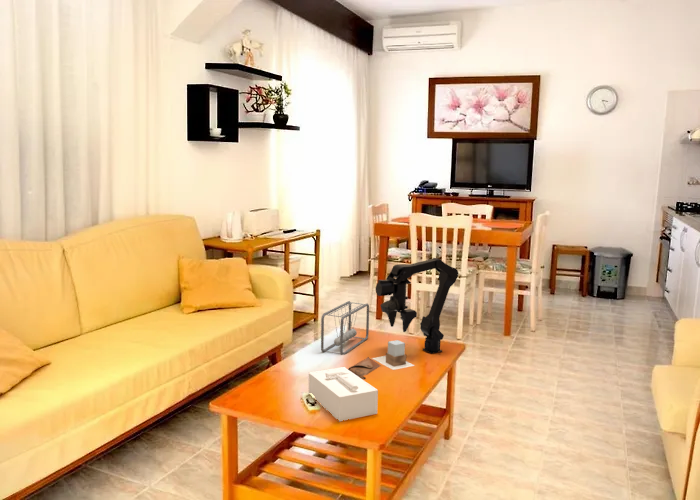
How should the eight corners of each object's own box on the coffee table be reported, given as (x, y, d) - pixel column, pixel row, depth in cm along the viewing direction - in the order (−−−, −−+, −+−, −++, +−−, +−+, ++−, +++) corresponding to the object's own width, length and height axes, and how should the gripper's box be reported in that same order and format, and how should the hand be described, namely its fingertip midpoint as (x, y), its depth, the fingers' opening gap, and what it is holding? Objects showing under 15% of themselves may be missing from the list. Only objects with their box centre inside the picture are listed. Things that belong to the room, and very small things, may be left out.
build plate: (392, 356, 264) (392, 354, 264) (414, 367, 251) (415, 365, 250) (371, 360, 258) (371, 358, 258) (393, 372, 245) (393, 369, 245)
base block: (397, 360, 257) (397, 350, 256) (405, 364, 252) (406, 355, 251) (385, 362, 254) (385, 353, 253) (393, 366, 249) (394, 357, 248)
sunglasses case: (364, 380, 236) (357, 364, 236) (351, 385, 239) (343, 370, 240) (384, 366, 251) (377, 351, 252) (371, 372, 255) (364, 357, 255)
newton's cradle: (341, 357, 262) (342, 317, 260) (320, 353, 267) (320, 314, 264) (368, 338, 289) (369, 302, 287) (348, 335, 294) (349, 300, 291)
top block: (397, 351, 255) (397, 340, 255) (404, 354, 251) (404, 343, 250) (387, 353, 253) (388, 341, 252) (394, 356, 249) (395, 345, 248)
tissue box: (343, 388, 227) (344, 360, 226) (377, 414, 205) (378, 383, 204) (308, 395, 221) (308, 366, 219) (339, 422, 199) (339, 390, 197)
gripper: (371, 291, 265) (370, 326, 267) (396, 300, 249) (395, 337, 251) (392, 289, 271) (391, 323, 273) (418, 298, 255) (416, 333, 257)
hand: (398, 329), depth 263 cm, fingers open, 9 cm apart
